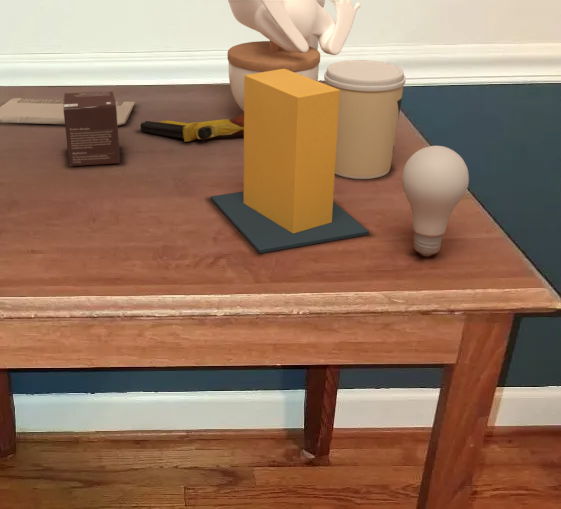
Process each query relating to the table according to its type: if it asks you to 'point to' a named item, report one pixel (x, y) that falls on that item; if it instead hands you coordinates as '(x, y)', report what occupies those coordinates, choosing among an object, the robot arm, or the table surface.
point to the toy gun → (196, 128)
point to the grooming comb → (48, 111)
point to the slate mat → (275, 237)
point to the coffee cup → (366, 116)
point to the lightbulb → (433, 193)
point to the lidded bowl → (267, 63)
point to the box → (91, 128)
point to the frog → (297, 22)
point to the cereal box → (290, 148)
